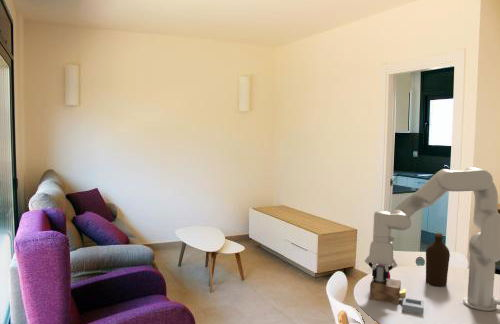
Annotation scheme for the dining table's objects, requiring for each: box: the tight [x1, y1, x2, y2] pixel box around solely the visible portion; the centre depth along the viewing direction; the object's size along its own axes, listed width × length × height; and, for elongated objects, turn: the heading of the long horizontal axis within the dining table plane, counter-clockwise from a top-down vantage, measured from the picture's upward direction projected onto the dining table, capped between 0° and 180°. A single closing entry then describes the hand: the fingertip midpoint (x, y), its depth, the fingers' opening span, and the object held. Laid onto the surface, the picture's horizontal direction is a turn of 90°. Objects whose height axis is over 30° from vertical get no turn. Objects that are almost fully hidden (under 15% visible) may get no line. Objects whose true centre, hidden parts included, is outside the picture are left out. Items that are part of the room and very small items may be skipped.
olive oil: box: [425, 232, 451, 288], centre depth 198 cm, size 11×11×25 cm
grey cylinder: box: [375, 264, 385, 284], centre depth 182 cm, size 4×4×14 cm
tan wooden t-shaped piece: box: [399, 288, 407, 302], centre depth 179 cm, size 7×4×4 cm, turn 65°
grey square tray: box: [401, 296, 425, 315], centre depth 170 cm, size 8×8×3 cm
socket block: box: [369, 276, 402, 305], centre depth 181 cm, size 12×10×7 cm
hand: (380, 278), depth 182 cm, fingers closed on grey cylinder, 4 cm apart
